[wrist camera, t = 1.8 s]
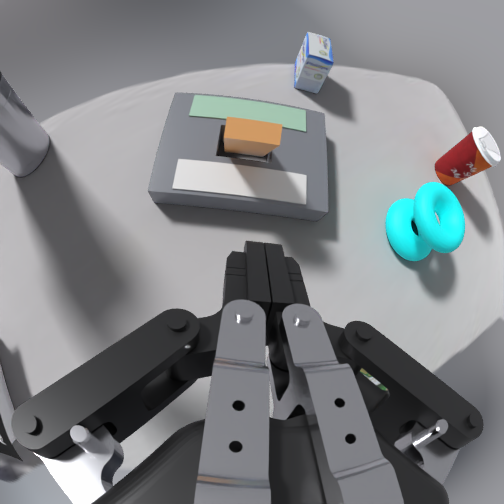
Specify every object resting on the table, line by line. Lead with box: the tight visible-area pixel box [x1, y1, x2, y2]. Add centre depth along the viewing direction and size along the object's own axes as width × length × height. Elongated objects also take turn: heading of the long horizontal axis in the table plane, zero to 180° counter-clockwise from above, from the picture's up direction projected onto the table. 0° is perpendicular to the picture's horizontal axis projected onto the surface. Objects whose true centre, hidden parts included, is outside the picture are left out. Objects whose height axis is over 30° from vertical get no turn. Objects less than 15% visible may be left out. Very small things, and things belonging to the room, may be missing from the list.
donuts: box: [386, 182, 465, 261], centre depth 34 cm, size 10×10×10 cm
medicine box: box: [294, 32, 334, 94], centre depth 38 cm, size 8×4×9 cm, turn 174°
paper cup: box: [435, 127, 501, 186], centre depth 36 cm, size 8×8×14 cm
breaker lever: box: [224, 117, 282, 157], centre depth 28 cm, size 2×5×12 cm, turn 85°
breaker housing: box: [148, 93, 328, 221], centre depth 35 cm, size 16×22×4 cm
